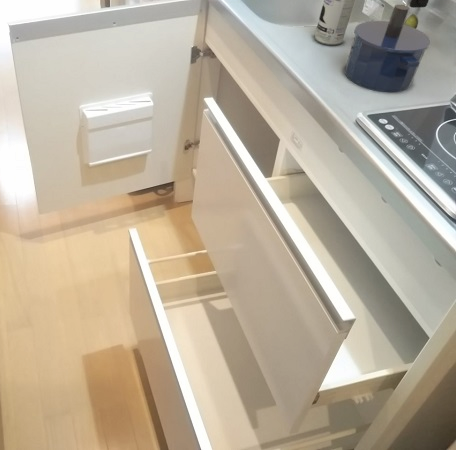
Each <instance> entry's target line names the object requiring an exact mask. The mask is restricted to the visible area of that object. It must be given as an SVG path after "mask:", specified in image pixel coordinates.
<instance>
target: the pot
mask: <svg viewBox="0 0 456 450" xmlns="http://www.w3.org/2000/svg"><path fill="white" fill-rule="evenodd" d="M425 52H426V50H424V51H422V52H418V53H395V52H389V51H384V50H380V49H377V48H374V47H371V46H369V45H367V44H365V43H363V42H362V41H360V40H359V39H358V38H357V37H356V36H355V35H354V38H353V40H352V44H351V47H350V51H349V54H348V58H347V60H346V63H345V69H344V74H345V76H346V78H347V79H348V80H349V81H351V82H352V83H354V84H355V85H357V86H360V87H361V88H364V89H366V90H367V89H368V90H370V91H375V92H382V93H398V92H403V91H405V90H407V89H409V88H410V87H411V85H412V83H413V81H414V79H415V76H416V74H417V72H418V69H419V67H420V64H421V61H422V60H423V57H424V54H425Z"/></svg>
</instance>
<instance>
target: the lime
mask: <svg viewBox="0 0 456 450" xmlns="http://www.w3.org/2000/svg"><path fill="white" fill-rule="evenodd" d="M404 25H407V26H410V27H413V28H415V29H418V25H419V19H418V16H417V15H416V14H414V13H411V15H409V16H408V18H406V20H405V23H404Z"/></svg>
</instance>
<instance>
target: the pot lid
mask: <svg viewBox="0 0 456 450" xmlns="http://www.w3.org/2000/svg"><path fill="white" fill-rule="evenodd" d="M410 8H411V7H410V6H408V5H406V4H394V6H393V9H392V12H391V14H390V18H389V21H388V20H387V21H386V20H368V21H364V22H361V23H359V24H357V25H356V26H355V28H354V32H353V34H354V37H355V36H356V37H357V38H358V39H359V40H360V41H362V42H363V43H365V44H367V45H369V46H371V47H374V48H377V49H380V50H384V51H389V52H395V53H418V52H422V51H424V50H425V51H427V50H428V49H429V47H430V45H431V39H430V37H429V36H428V35H427V33H424V32H423V31H421V30H420V29H418V28H416V29H415V28H413V27H410V26H407V25H404V23H405V21H406V20H407V17H408V15H409V11H410Z"/></svg>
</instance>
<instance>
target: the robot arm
mask: <svg viewBox="0 0 456 450" xmlns="http://www.w3.org/2000/svg"><path fill="white" fill-rule="evenodd" d="M429 1H430V0H410V2H409V8H412V9H413V8H415V9H416V8H426V7H427V6H428V4H429Z"/></svg>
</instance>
